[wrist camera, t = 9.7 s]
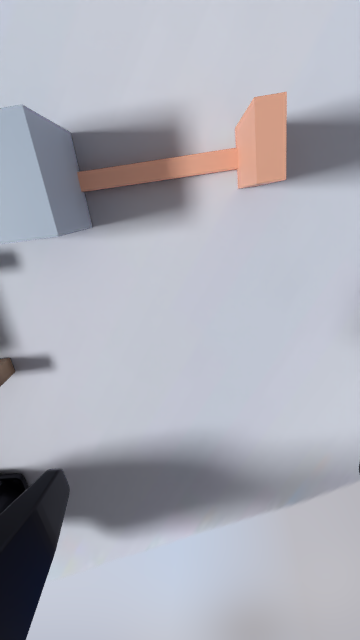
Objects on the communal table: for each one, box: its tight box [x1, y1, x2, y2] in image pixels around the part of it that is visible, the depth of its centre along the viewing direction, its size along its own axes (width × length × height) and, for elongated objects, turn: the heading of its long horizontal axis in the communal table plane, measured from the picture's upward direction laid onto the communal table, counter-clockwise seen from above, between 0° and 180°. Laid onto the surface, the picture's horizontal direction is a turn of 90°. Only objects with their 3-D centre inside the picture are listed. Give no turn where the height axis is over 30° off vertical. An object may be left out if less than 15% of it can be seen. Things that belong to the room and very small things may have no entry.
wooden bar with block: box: [0, 92, 287, 244], centre depth 14 cm, size 5×15×5 cm, turn 98°
